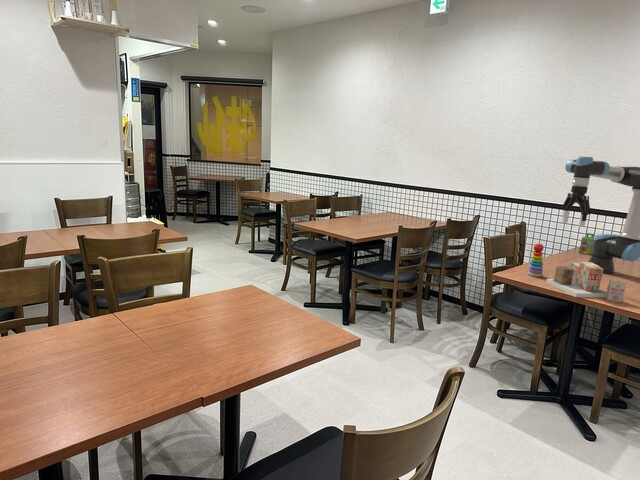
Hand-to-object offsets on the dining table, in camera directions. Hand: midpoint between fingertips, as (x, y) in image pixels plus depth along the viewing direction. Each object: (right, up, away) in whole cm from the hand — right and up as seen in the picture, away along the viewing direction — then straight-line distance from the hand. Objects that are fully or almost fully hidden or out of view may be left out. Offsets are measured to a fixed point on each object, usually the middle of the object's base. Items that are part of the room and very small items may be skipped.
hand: (573, 224), depth 243 cm
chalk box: (+56, -18, +81) cm, 100 cm away
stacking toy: (-15, -29, +13) cm, 35 cm away
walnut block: (-9, -31, -6) cm, 33 cm away
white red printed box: (+6, -38, -25) cm, 46 cm away
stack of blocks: (0, -32, -9) cm, 34 cm away
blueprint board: (-4, -34, -10) cm, 36 cm away
